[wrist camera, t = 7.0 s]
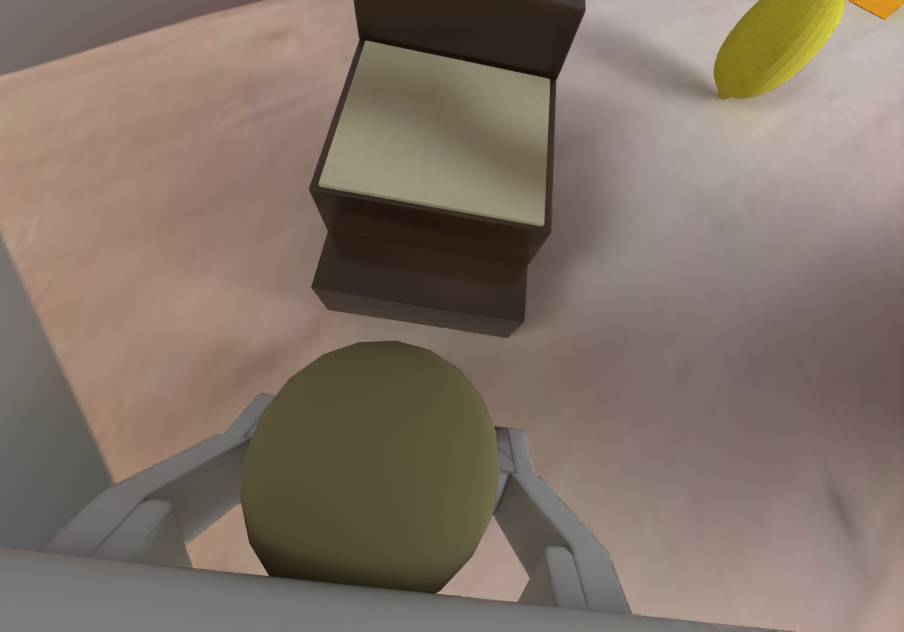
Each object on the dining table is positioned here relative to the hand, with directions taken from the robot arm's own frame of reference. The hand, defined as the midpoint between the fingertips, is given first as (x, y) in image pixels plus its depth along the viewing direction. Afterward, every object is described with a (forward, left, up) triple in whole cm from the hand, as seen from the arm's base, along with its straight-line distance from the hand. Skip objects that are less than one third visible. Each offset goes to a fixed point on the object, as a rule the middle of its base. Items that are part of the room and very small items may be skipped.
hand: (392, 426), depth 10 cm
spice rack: (-8, -10, -7) cm, 14 cm away
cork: (0, +1, -7) cm, 7 cm away
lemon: (-35, -9, -7) cm, 37 cm away
